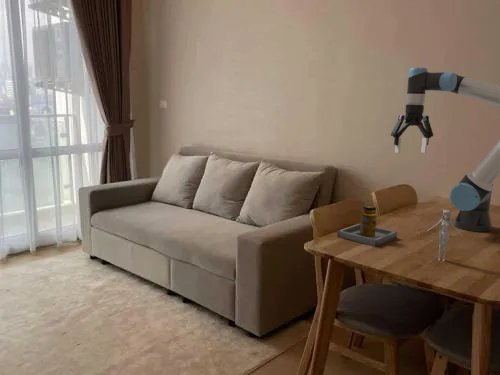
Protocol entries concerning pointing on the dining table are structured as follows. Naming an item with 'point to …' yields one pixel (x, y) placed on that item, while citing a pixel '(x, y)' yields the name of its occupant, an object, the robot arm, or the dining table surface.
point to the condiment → (368, 222)
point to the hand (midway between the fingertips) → (410, 152)
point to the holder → (375, 241)
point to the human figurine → (444, 231)
